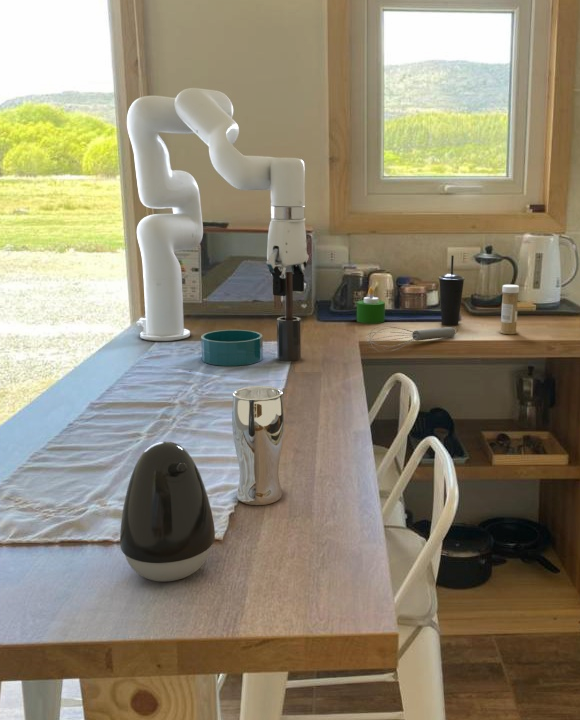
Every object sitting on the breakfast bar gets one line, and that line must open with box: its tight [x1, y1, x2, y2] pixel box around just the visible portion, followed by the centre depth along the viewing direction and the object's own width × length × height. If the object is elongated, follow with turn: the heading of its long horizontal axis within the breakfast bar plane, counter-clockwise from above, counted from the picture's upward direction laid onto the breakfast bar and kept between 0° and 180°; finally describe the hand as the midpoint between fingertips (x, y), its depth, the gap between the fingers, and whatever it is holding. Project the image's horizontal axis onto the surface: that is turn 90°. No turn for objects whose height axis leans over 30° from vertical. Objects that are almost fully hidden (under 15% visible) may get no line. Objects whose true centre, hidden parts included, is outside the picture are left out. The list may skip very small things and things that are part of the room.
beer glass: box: [231, 385, 285, 506], centre depth 110 cm, size 7×7×15 cm
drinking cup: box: [438, 254, 466, 326], centre depth 234 cm, size 8×8×20 cm
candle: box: [356, 286, 386, 324], centre depth 237 cm, size 8×8×10 cm
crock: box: [276, 316, 302, 363], centre depth 187 cm, size 5×6×10 cm
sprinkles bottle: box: [499, 284, 520, 335], centre depth 223 cm, size 5×5×13 cm
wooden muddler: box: [284, 270, 294, 320], centre depth 186 cm, size 2×2×20 cm
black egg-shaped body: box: [119, 441, 216, 583], centre depth 89 cm, size 10×10×15 cm
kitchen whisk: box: [366, 325, 459, 353], centre depth 207 cm, size 6×34×6 cm, turn 136°
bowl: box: [200, 329, 264, 367], centre depth 186 cm, size 14×14×6 cm
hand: (288, 292), depth 184 cm, fingers open, 6 cm apart
